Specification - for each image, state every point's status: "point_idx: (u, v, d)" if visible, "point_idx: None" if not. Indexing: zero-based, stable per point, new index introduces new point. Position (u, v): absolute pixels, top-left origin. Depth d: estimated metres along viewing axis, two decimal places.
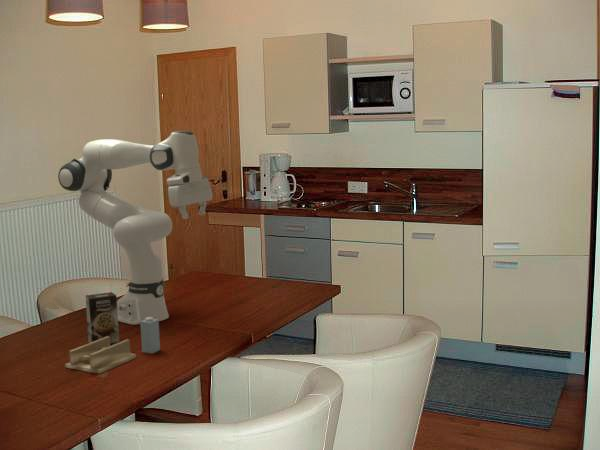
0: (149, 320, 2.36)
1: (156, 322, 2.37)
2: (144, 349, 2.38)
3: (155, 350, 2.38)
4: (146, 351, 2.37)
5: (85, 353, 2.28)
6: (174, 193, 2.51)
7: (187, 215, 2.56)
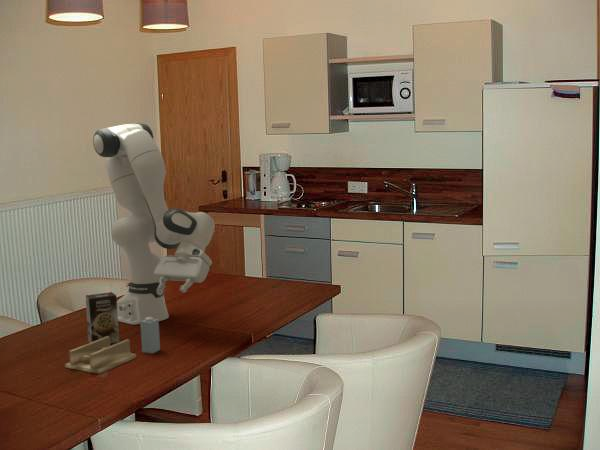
0: (149, 320, 2.36)
1: (156, 322, 2.37)
2: (144, 349, 2.38)
3: (155, 350, 2.38)
4: (146, 351, 2.37)
5: (85, 353, 2.28)
6: (206, 270, 2.46)
7: None
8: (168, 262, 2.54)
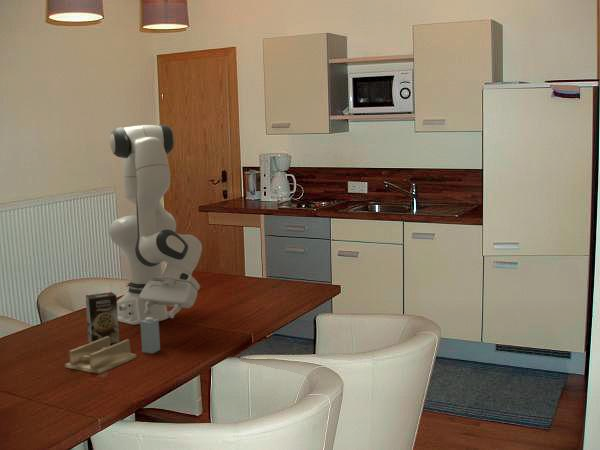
0: (149, 320, 2.36)
1: (156, 322, 2.37)
2: (144, 349, 2.38)
3: (155, 350, 2.38)
4: (146, 351, 2.37)
5: (85, 353, 2.28)
6: (194, 295, 2.41)
7: None
8: (154, 286, 2.47)
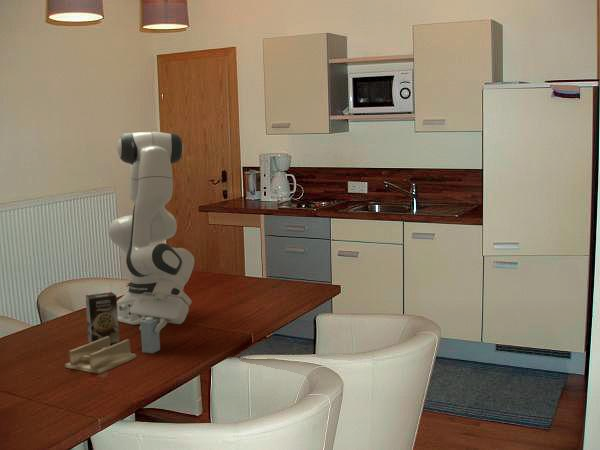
0: (149, 320, 2.36)
1: (156, 322, 2.37)
2: (144, 349, 2.38)
3: (155, 350, 2.38)
4: (146, 351, 2.37)
5: (85, 353, 2.28)
6: (185, 310, 2.38)
7: None
8: (145, 300, 2.44)
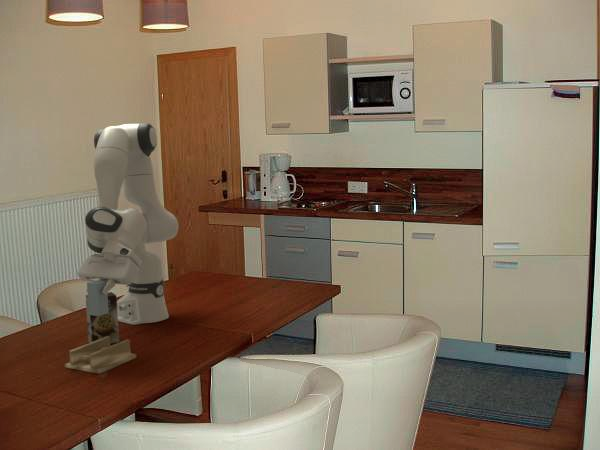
0: (96, 281, 2.24)
1: (104, 283, 2.26)
2: (91, 312, 2.26)
3: (103, 313, 2.26)
4: (93, 314, 2.25)
5: (85, 353, 2.28)
6: (135, 271, 2.26)
7: None
8: (93, 262, 2.32)
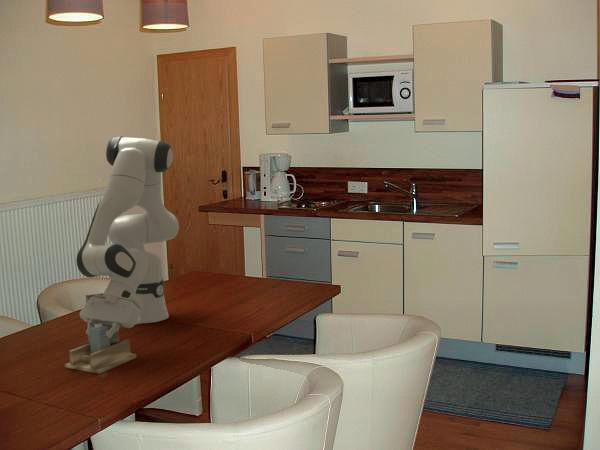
0: (98, 327, 2.27)
1: (106, 329, 2.28)
2: None
3: None
4: None
5: (85, 353, 2.28)
6: (136, 314, 2.28)
7: None
8: (95, 303, 2.34)
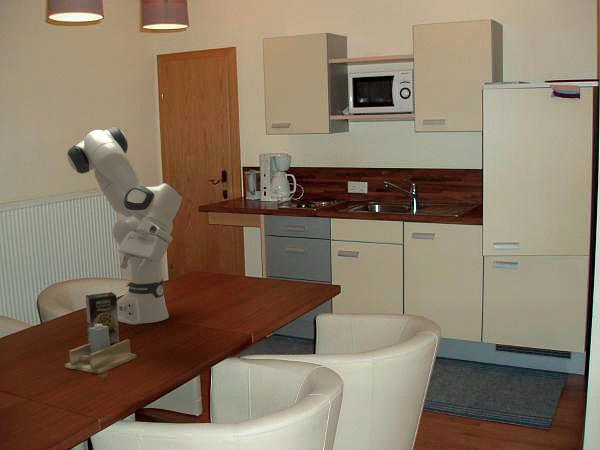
0: (98, 327, 2.27)
1: (106, 329, 2.28)
2: None
3: None
4: None
5: (85, 353, 2.28)
6: (163, 248, 2.30)
7: None
8: (131, 238, 2.40)
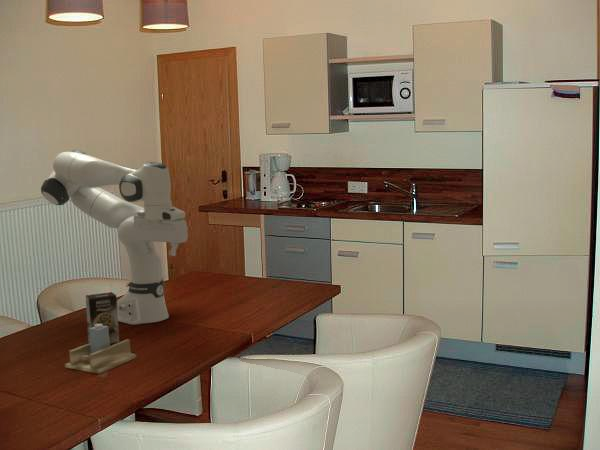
0: (98, 327, 2.27)
1: (106, 329, 2.28)
2: None
3: None
4: None
5: (85, 353, 2.28)
6: (184, 228, 2.39)
7: None
8: (142, 225, 2.44)
